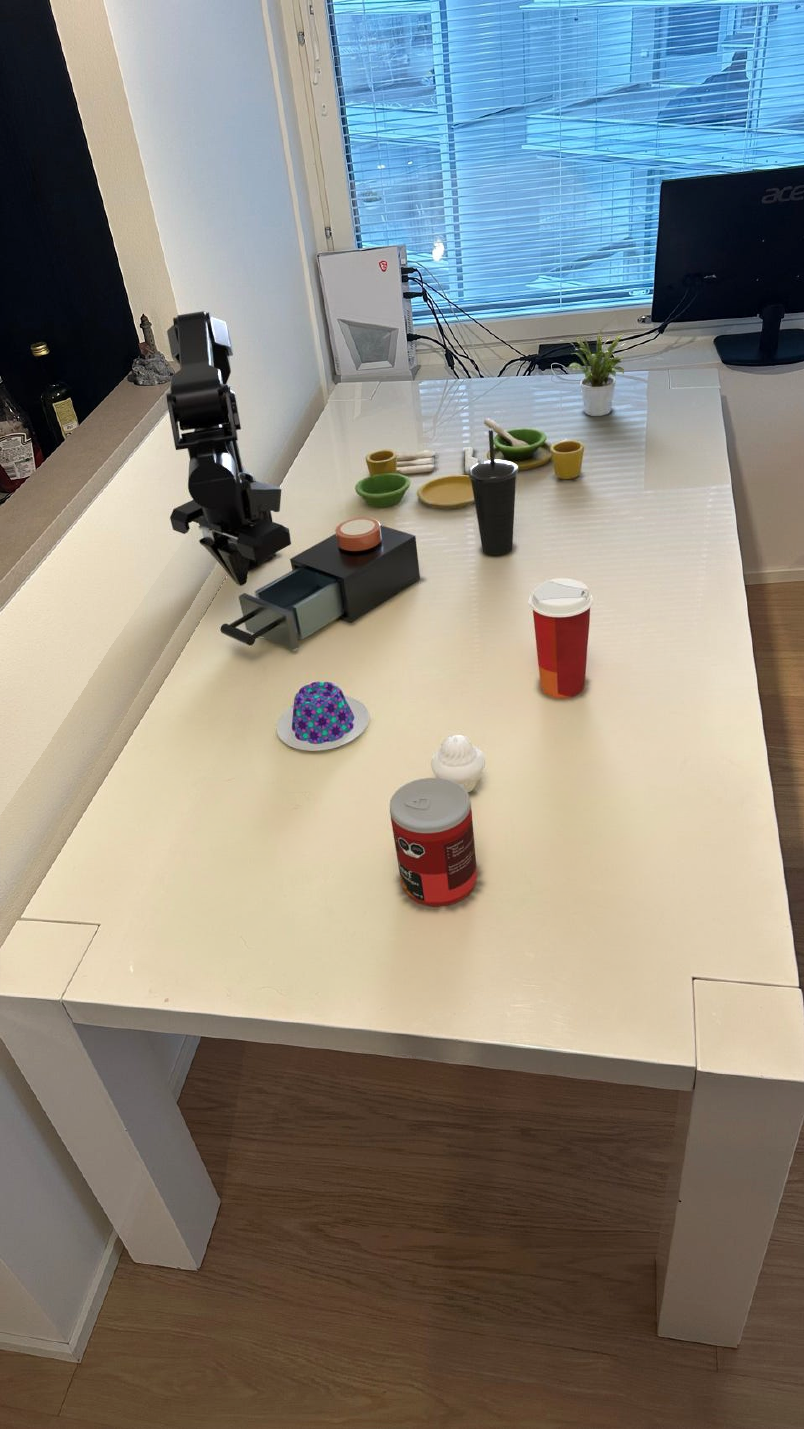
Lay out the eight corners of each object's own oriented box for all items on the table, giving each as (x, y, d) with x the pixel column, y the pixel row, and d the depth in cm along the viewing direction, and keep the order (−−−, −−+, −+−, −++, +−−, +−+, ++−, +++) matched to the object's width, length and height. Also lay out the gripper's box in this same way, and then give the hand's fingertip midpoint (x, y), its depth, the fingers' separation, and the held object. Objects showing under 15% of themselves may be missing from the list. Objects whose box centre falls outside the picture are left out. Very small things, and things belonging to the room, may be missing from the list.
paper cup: (597, 672, 132) (598, 578, 124) (586, 706, 127) (586, 609, 119) (539, 666, 135) (536, 574, 127) (525, 699, 129) (521, 604, 121)
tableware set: (577, 441, 197) (577, 409, 193) (589, 501, 174) (589, 467, 171) (368, 458, 201) (364, 427, 198) (354, 519, 179) (349, 485, 175)
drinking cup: (518, 560, 160) (513, 438, 148) (470, 560, 162) (461, 440, 150) (523, 538, 166) (518, 419, 154) (477, 538, 167) (469, 421, 156)
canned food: (398, 860, 108) (386, 782, 102) (472, 850, 108) (464, 771, 102) (404, 913, 102) (391, 833, 95) (482, 903, 102) (475, 822, 95)
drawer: (262, 669, 140) (254, 634, 137) (216, 648, 146) (207, 613, 143) (363, 606, 151) (358, 572, 148) (316, 588, 158) (310, 555, 154)
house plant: (554, 426, 204) (553, 344, 195) (558, 402, 215) (556, 323, 206) (627, 423, 201) (629, 340, 192) (626, 399, 212) (628, 319, 203)
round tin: (328, 547, 154) (325, 530, 152) (359, 529, 158) (357, 513, 156) (360, 557, 150) (357, 541, 148) (391, 539, 154) (389, 523, 152)
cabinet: (350, 623, 150) (343, 578, 145) (298, 602, 157) (289, 558, 152) (420, 579, 158) (415, 535, 154) (367, 561, 165) (361, 519, 161)
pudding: (348, 761, 123) (342, 727, 120) (261, 748, 127) (253, 714, 124) (384, 704, 132) (379, 671, 129) (301, 694, 136) (294, 661, 133)
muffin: (434, 770, 120) (428, 723, 116) (486, 767, 119) (482, 720, 115) (433, 805, 115) (427, 757, 111) (487, 802, 114) (483, 753, 110)
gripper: (311, 468, 129) (330, 576, 138) (220, 443, 140) (243, 545, 149) (245, 501, 123) (269, 612, 132) (155, 472, 134) (183, 576, 143)
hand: (241, 584), depth 139 cm, fingers closed
